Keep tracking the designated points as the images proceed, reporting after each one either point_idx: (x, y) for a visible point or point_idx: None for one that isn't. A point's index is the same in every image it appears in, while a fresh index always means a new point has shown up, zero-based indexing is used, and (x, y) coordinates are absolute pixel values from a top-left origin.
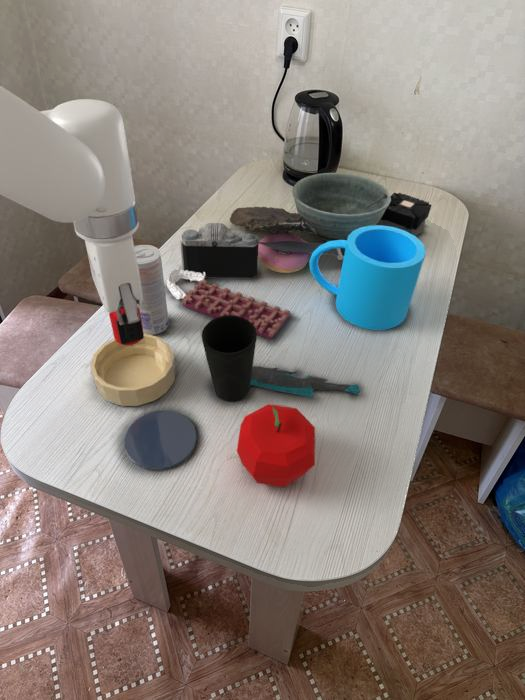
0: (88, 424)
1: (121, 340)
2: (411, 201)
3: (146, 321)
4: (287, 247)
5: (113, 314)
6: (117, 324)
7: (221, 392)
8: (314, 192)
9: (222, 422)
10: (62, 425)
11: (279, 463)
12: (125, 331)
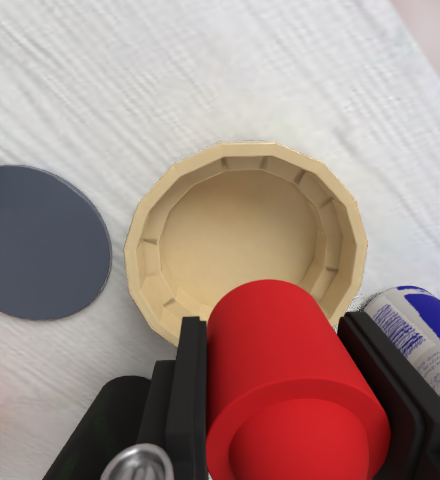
0: (124, 91)
1: (182, 329)
2: None
3: (391, 331)
4: None
5: (307, 400)
6: (168, 422)
7: (95, 402)
8: None
9: (51, 365)
10: (143, 15)
11: None
12: (146, 410)
